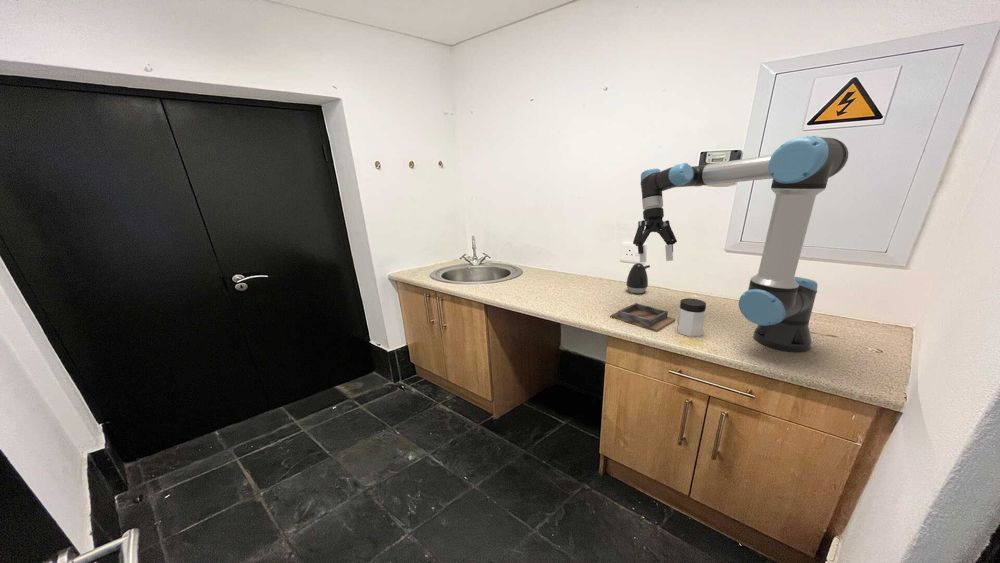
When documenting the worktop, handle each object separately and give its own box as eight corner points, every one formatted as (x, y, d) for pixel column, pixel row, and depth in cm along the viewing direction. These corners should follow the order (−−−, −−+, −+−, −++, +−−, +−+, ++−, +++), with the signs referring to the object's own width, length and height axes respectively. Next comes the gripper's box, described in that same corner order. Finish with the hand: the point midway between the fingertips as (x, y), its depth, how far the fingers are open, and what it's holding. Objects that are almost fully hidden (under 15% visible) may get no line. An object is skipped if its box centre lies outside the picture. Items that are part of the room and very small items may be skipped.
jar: (703, 338, 118) (708, 307, 115) (677, 335, 122) (681, 304, 118) (700, 328, 126) (704, 299, 123) (676, 326, 130) (679, 296, 126)
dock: (675, 321, 134) (676, 313, 133) (656, 332, 125) (657, 323, 124) (629, 308, 149) (630, 301, 148) (610, 317, 140) (610, 309, 139)
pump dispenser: (648, 295, 164) (651, 266, 160) (625, 294, 168) (628, 265, 163) (646, 289, 173) (649, 261, 169) (625, 288, 177) (627, 260, 173)
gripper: (669, 211, 142) (672, 261, 141) (621, 210, 133) (625, 263, 133) (684, 207, 135) (688, 259, 134) (634, 206, 126) (638, 261, 126)
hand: (656, 261), depth 134 cm, fingers open, 13 cm apart
